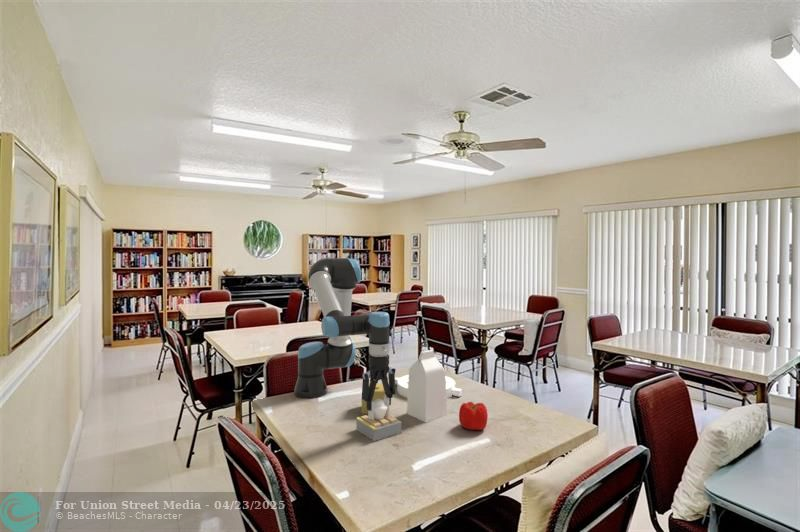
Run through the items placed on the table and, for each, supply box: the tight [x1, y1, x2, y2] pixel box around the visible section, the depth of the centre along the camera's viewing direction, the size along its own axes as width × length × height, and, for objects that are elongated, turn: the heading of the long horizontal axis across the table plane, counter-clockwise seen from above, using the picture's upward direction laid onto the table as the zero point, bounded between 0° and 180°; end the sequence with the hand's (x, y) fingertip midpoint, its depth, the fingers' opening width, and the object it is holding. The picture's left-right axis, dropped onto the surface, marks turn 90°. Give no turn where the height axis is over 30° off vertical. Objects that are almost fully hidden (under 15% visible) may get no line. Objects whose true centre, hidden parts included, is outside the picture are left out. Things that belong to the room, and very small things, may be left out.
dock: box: [356, 414, 402, 442], centre depth 148 cm, size 12×12×5 cm
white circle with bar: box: [395, 374, 463, 399], centre depth 194 cm, size 28×28×5 cm
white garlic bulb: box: [374, 399, 387, 419], centre depth 148 cm, size 6×6×7 cm
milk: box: [406, 349, 448, 423], centre depth 164 cm, size 12×12×26 cm
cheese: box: [361, 382, 386, 415], centre depth 168 cm, size 10×11×10 cm
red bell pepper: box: [458, 401, 489, 431], centre depth 152 cm, size 11×12×9 cm
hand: (378, 416), depth 148 cm, fingers closed on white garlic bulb, 6 cm apart
